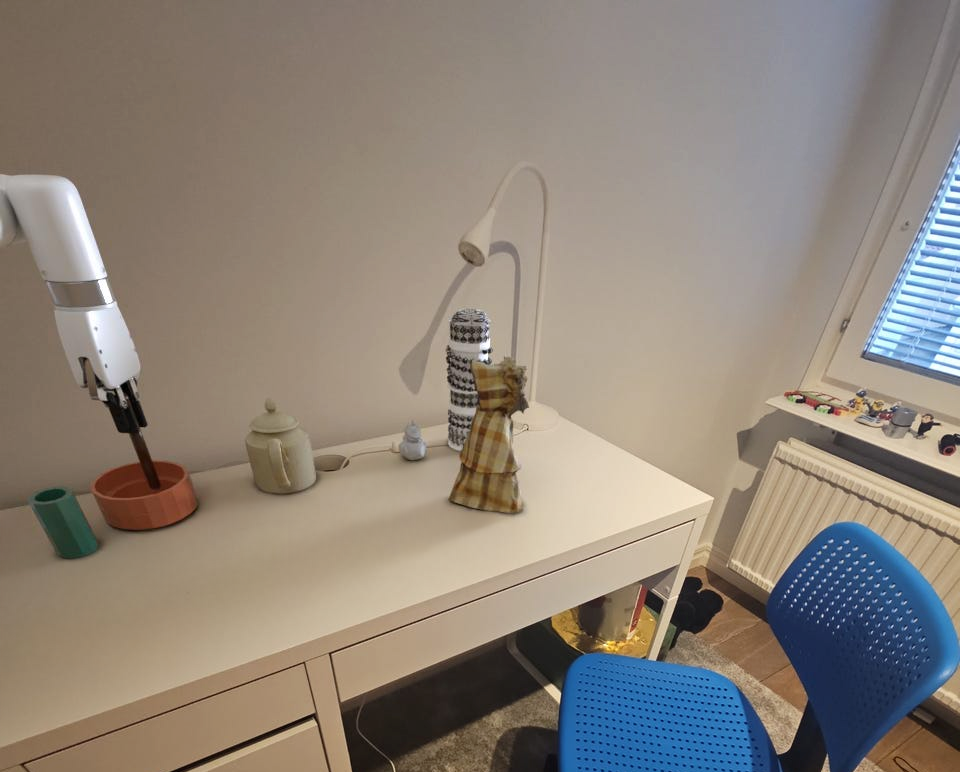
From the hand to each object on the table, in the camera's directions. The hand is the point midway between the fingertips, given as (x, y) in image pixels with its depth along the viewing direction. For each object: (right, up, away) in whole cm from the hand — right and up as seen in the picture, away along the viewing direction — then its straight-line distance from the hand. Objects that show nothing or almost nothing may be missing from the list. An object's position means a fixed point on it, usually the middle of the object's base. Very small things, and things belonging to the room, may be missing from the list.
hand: (133, 428), depth 87 cm
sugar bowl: (+19, -4, +16) cm, 26 cm away
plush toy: (+56, -7, +15) cm, 59 cm away
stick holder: (-7, -19, -2) cm, 21 cm away
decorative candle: (+52, +9, +33) cm, 62 cm away
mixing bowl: (-1, -12, +7) cm, 13 cm away
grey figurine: (+41, +4, +27) cm, 49 cm away
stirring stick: (0, -8, +7) cm, 10 cm away
